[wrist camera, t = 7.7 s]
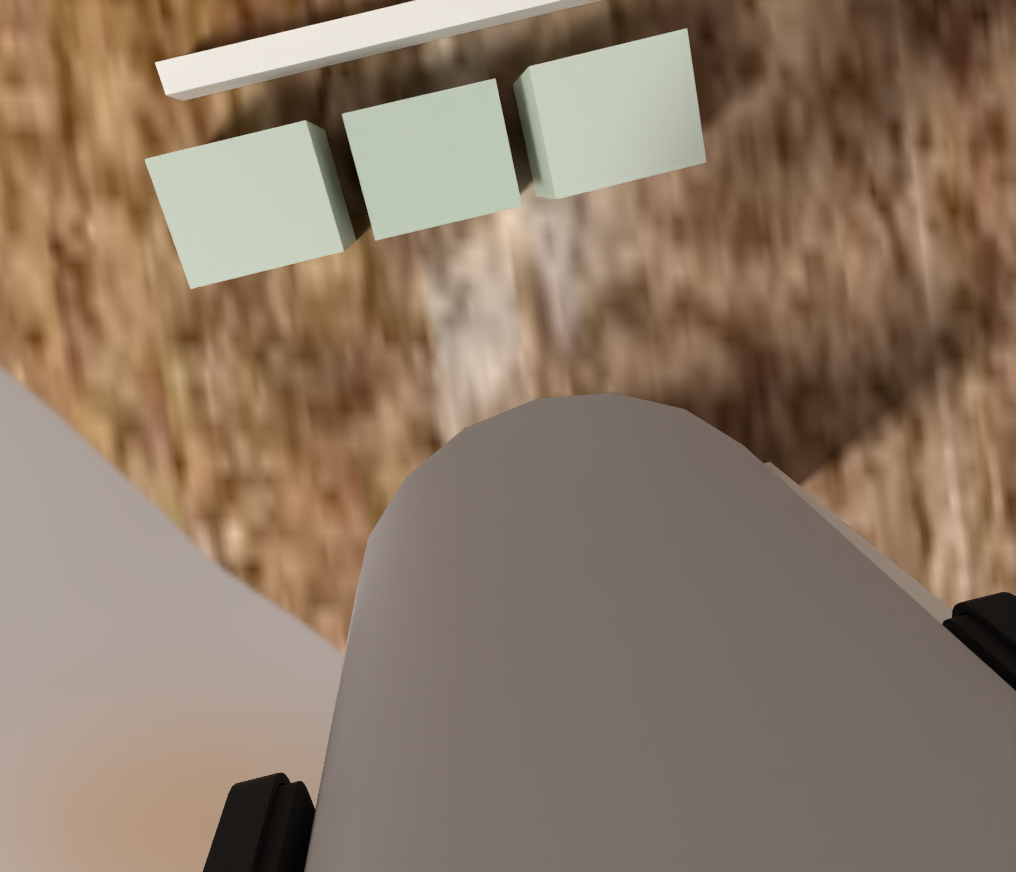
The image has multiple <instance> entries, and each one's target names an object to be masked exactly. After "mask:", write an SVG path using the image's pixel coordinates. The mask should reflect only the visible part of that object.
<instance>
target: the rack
mask: <svg viewBox="0 0 1016 872" xmlns="http://www.w3.org/2000/svg"><path fill="white" fill-rule="evenodd" d="M597 1H601V0H415V1H411V2H406V3H402V4H398V5H394V6H390V7H385V8H381V9H377V10H373V11H369V12H365V13H360V14H356V15H352V16H348V17H344V18H339V19H335V20H331V21H327V22H323V23H319V24H314V25H310V26H306V27H302V28H298V29H293V30H289V31H285V32H281V33H277V34H272V35H268V36H264V37H260V38H256V39H252V40H247V41H243V42H239V43H235V44H231V45H226V46H222V47H218V48H214V49H210V50H206V51H201V52H197V53H193V54H189V55H185V56H180V57H176V58H172V59H168V60H164V61H160V62H155V64H156V67H157V70H158V73H159V76H160V79H161V82H162V85H163V88H164V91H165V94H166V95H167V96H170V97H173V98H176V99H179V100H182V101H185V100H189V99H193V98H197V97H201V96H205V95H210V94H214V93H218V92H222V91H226V90H230V89H235V88H239V87H243V86H247V85H251V84H255V83H260V82H264V81H268V80H272V79H276V78H280V77H285V76H289V75H293V74H297V73H301V72H305V71H310V70H314V69H318V68H322V67H326V66H330V65H335V64H339V63H343V62H347V61H351V60H355V59H360V58H364V57H368V56H372V55H376V54H380V53H385V52H389V51H393V50H397V49H401V48H405V47H409V46H414V45H418V44H422V43H426V42H430V41H434V40H439V39H443V38H447V37H451V36H455V35H459V34H464V33H468V32H472V31H476V30H480V29H484V28H489V27H493V26H497V25H501V24H505V23H509V22H514V21H518V20H522V19H526V18H530V17H534V16H539V15H543V14H547V13H551V12H555V11H559V10H564V9H568V8H572V7H576V6H580V5H584V4H589V3H593V2H597ZM764 464H765V465H766V466H767V467H768V468H769V469H770V470H771V471H772V472H774V473H775V474H776V475H777V476H778V477H779V478H780V479H781V480H782V481H784V482H785V483H786V484H787V485H788V486H789V487H790V488H791V489H792V490H793V491H795V492H796V493H797V494H798V495H799V496H800V497H801V498H802V499H803V500H805V501H806V502H807V503H808V504H809V505H810V506H811V507H812V508H813V509H815V510H816V511H817V512H818V513H819V514H820V515H821V516H822V517H823V518H825V519H826V520H827V521H828V522H829V523H830V524H831V525H832V526H833V527H834V528H836V529H837V530H838V531H839V532H840V533H841V534H842V535H843V536H844V537H846V538H847V539H848V540H849V541H850V542H851V543H852V544H853V545H854V546H856V547H857V548H858V549H859V550H860V551H861V552H862V553H863V554H864V555H866V556H867V557H868V558H869V559H870V560H871V561H872V562H873V563H874V564H875V565H877V566H878V567H879V568H880V569H881V570H882V571H883V572H884V573H885V574H887V575H888V576H889V577H890V578H891V579H892V580H893V581H894V582H895V583H897V584H898V585H899V586H900V587H901V588H902V589H903V590H904V591H905V592H907V593H908V594H909V595H910V596H911V597H912V598H913V599H914V600H915V601H916V602H918V603H919V604H920V605H921V606H922V607H923V608H924V609H925V610H926V611H928V612H929V613H930V614H931V615H932V616H933V617H934V618H935V619H936V620H938V621H939V622H940V623H941V624H942V623H943V621H945V620H946V619H950V618H952V611H953V610H951V609H950V608H949V607H948V606H946V605H945V604H944V603H943V602H942V601H940V600H939V599H938V598H937V597H935V596H934V595H933V594H932V593H931V592H929V591H928V590H927V589H926V588H924V587H923V586H922V585H921V584H919V583H918V582H917V581H916V580H915V579H913V578H912V577H911V576H910V575H908V574H907V573H906V572H905V571H904V570H902V569H901V568H900V567H899V566H897V565H896V564H895V563H894V562H892V561H891V560H890V559H889V558H888V557H886V556H885V555H884V554H883V553H881V552H880V551H879V550H878V549H877V548H875V547H874V546H873V545H872V544H870V543H869V542H868V541H867V540H865V539H864V538H863V537H862V536H861V535H859V534H858V533H857V532H856V531H854V530H853V529H852V528H851V527H850V526H848V525H847V524H846V523H845V522H843V521H842V520H841V519H840V518H839V517H837V516H836V515H835V514H834V513H832V512H831V511H830V510H829V509H827V508H826V507H825V506H824V505H823V504H821V503H820V502H819V501H818V500H816V499H815V498H814V497H813V496H812V495H810V494H809V493H808V492H807V491H805V490H804V489H803V488H802V487H800V486H799V485H798V484H797V483H796V482H794V481H793V480H792V479H791V478H789V477H788V476H787V475H786V474H785V473H783V472H782V471H781V470H780V469H778V468H777V467H776V466H775V465H773V464H772V463H771V462H767V463H764Z"/></svg>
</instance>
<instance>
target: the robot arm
mask: <svg viewBox="0 0 1016 872" xmlns="http://www.w3.org/2000/svg"><path fill="white" fill-rule="evenodd" d="M942 625H943V626H944V627H945V628H946V629H948V630H949V631H950V632H951V633H952V634H953V635H954V636H955V637H956V638H957V639H959V640H960V641H961V642H962V643H963V644H964V645H965V646H966V647H967V648H969V649H970V650H971V651H972V652H973V653H974V654H975V655H976V656H977V657H979V658H980V659H981V660H982V661H983V662H984V663H985V664H986V665H987V666H989V667H990V668H991V669H992V670H993V671H994V672H995V673H996V674H997V675H998V676H1000V677H1001V678H1002V679H1003V680H1004V681H1005V682H1006V683H1007V684H1008V685H1010V686H1011V687H1012V688H1013V689H1014V690H1015V691H1016V596H1014V595H1012V594H1011V593H1007V592H1001V593H997V594H993V595H989V596H985V597H981V598H977V599H973V600H969V601H965V602H961V603H958V604H957V605H955V606H954V608H953V611H952V618H950V619H946V620H945V621H943V623H942ZM314 815H315V808H314V805H313V803H312V800H311V798H310V795H309V793H308V790H307V788H306V786H305V784H304V783H303V782H302V781H297V782H294V783H290V781H289V779H288V777H287V776H286V775H285V774H284V773H276V774H272V775H268V776H264V777H260V778H256V779H252V780H248V781H244V782H240V783H236V784H235V785H234V786H232V788H231V790H230V792H229V794H228V797H227V800H226V803H225V806H224V809H223V812H222V815H221V818H220V822H219V824H218V828H217V830H216V833H215V836H214V839H213V842H212V845H211V849H210V852H209V854H208V858H207V861H206V864H205V867H204V870H203V872H304V869H305V864H306V858H307V853H308V847H309V842H310V837H311V831H312V826H313V821H314Z"/></svg>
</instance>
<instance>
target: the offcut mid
mask: <svg viewBox="0 0 1016 872" xmlns="http://www.w3.org/2000/svg"><path fill="white" fill-rule="evenodd" d="M342 117H343V121H344V125H345V129H346V132H347V136H348V140H349V144H350V147H351V151H352V155H353V159H354V162H355V166H356V170H357V174H358V177H359V181H360V185H361V189H362V192H363V196H364V200H365V204H366V207H367V211H368V215H369V218H370V222H371V226H372V230H373V233H374V237H375V240H380V239H384V238H388V237H392V236H397V235H401V234H405V233H409V232H414V231H418V230H422V229H426V228H431V227H435V226H439V225H443V224H448V223H452V222H456V221H460V220H465V219H469V218H473V217H477V216H482V215H486V214H490V213H494V212H499V211H503V210H507V209H511V208H516V207H520V206H522V204H521V199H520V194H519V189H518V184H517V180H516V175H515V170H514V165H513V160H512V156H511V151H510V146H509V141H508V136H507V132H506V127H505V122H504V117H503V112H502V108H501V103H500V98H499V93H498V88H497V84H496V79H495V78H494V79H490V80H486V81H481V82H477V83H473V84H468V85H464V86H460V87H455V88H451V89H447V90H442V91H438V92H434V93H429V94H425V95H421V96H416V97H412V98H408V99H403V100H399V101H395V102H390V103H386V104H382V105H377V106H373V107H369V108H364V109H360V110H356V111H351V112H347V113H343V114H342Z"/></svg>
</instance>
